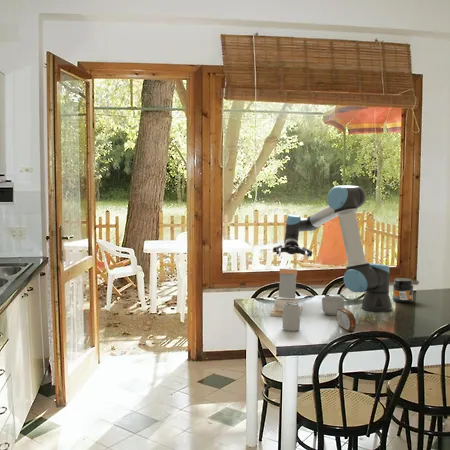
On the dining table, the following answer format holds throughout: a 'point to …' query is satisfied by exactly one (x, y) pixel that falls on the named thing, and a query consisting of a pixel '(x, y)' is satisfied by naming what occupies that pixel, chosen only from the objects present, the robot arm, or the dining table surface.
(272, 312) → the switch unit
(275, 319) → the dining table surface
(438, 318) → the dining table surface
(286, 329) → the can
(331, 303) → the light grey rounded block
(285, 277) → the grey orange box
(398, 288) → the supplement container
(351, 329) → the tin
